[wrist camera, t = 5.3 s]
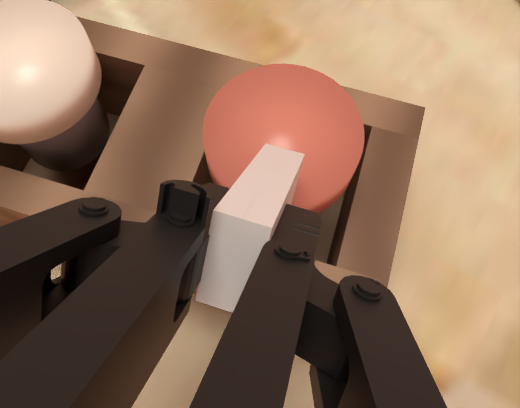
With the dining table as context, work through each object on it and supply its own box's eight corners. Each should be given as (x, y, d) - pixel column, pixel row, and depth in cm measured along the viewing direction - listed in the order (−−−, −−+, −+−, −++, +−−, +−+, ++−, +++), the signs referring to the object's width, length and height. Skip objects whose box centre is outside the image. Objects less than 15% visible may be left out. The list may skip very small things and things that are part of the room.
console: (-34, 220, 31) (-124, 168, 24) (48, 77, 36) (-6, -5, 28) (347, 341, 29) (379, 323, 21) (386, 171, 33) (425, 107, 26)
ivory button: (-15, 167, 27) (-99, 97, 21) (41, 72, 30) (-19, -17, 23) (97, 201, 27) (46, 139, 20) (144, 100, 29) (112, 17, 23)
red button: (197, 231, 26) (178, 178, 19) (237, 126, 28) (232, 47, 22) (320, 268, 25) (343, 226, 19) (350, 157, 28) (379, 86, 21)
